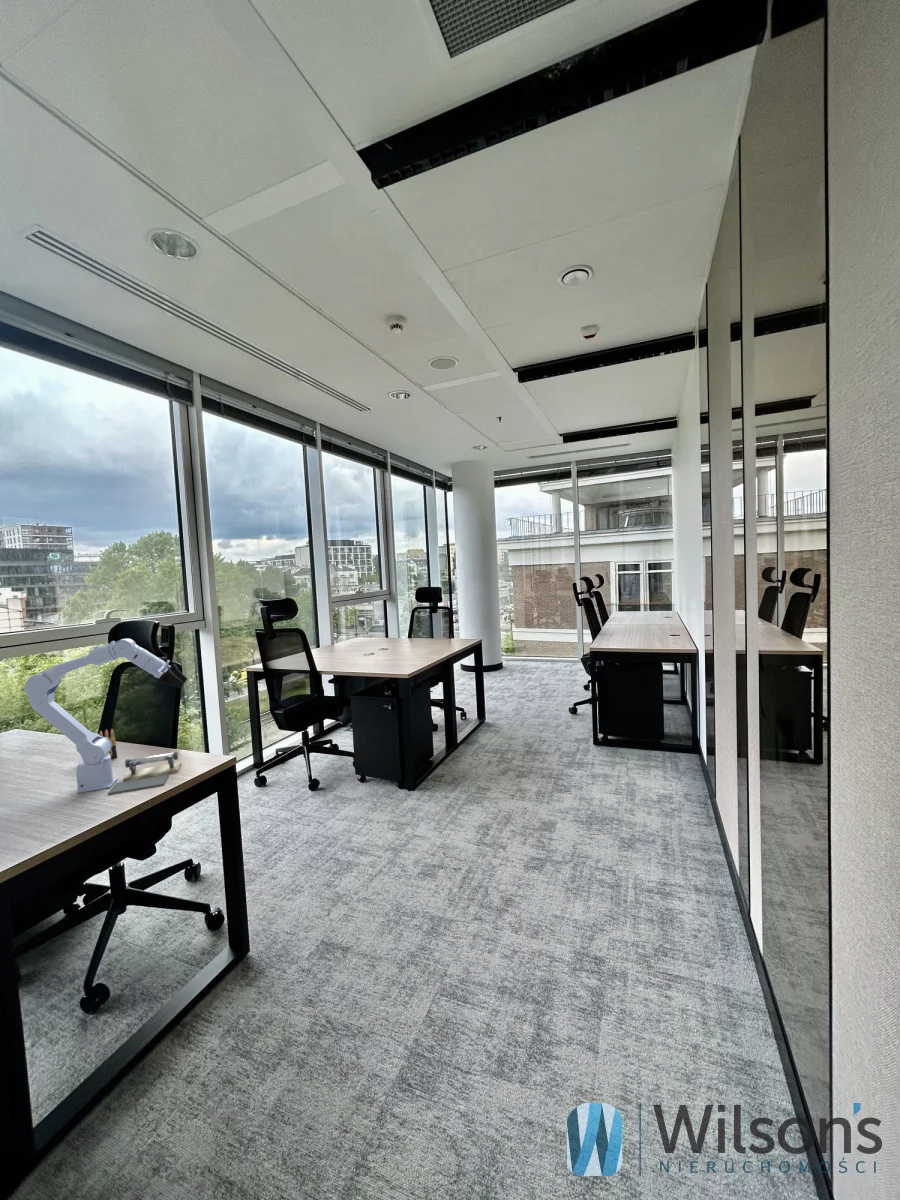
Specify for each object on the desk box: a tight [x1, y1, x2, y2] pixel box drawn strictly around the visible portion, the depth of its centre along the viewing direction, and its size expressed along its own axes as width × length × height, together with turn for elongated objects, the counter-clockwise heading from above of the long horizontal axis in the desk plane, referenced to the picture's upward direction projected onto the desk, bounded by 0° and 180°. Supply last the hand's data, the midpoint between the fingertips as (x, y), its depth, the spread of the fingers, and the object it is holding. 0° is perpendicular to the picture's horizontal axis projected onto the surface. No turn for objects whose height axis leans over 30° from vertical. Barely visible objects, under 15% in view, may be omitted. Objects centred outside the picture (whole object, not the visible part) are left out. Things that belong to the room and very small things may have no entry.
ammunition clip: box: [94, 728, 118, 760], centre depth 186 cm, size 11×2×12 cm, turn 127°
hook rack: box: [122, 751, 182, 782], centre depth 171 cm, size 17×7×6 cm, turn 110°
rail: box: [124, 751, 179, 768], centre depth 171 cm, size 16×3×3 cm, turn 110°
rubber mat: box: [107, 774, 169, 796], centre depth 161 cm, size 16×8×1 cm, turn 110°
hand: (183, 683), depth 170 cm, fingers open, 7 cm apart
